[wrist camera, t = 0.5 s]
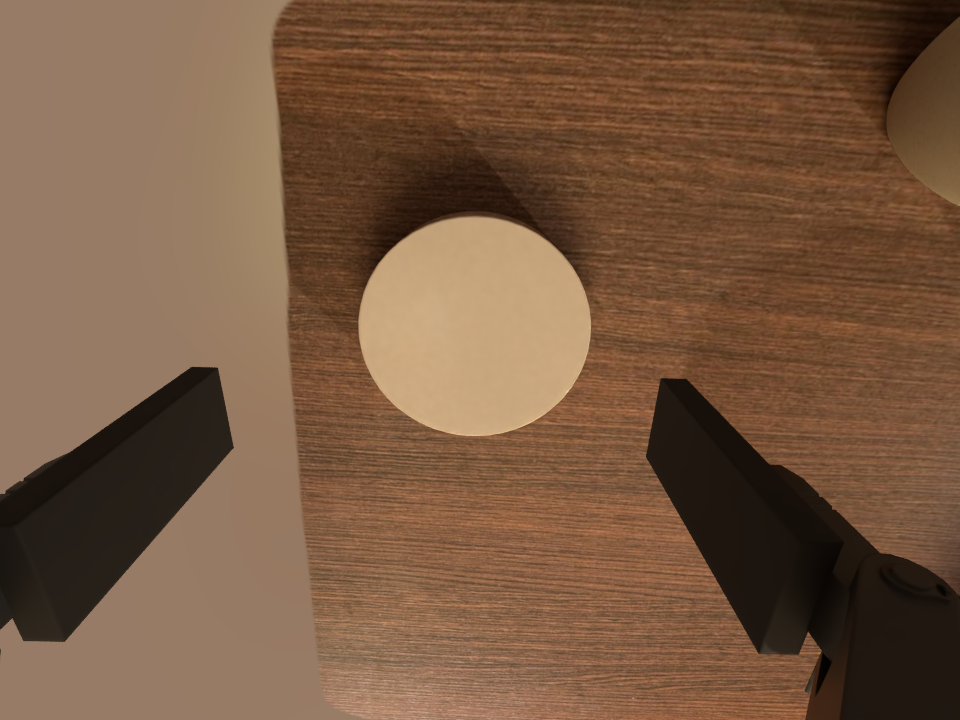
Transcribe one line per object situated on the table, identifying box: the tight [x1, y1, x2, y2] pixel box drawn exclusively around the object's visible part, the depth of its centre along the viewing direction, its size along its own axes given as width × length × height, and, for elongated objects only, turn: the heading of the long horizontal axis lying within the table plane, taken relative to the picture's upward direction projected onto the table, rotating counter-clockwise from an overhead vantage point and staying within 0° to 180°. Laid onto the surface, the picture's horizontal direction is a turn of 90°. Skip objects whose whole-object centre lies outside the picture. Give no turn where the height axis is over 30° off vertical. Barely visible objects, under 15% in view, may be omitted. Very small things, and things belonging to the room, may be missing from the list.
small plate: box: [358, 211, 591, 436], centre depth 26 cm, size 12×12×2 cm
